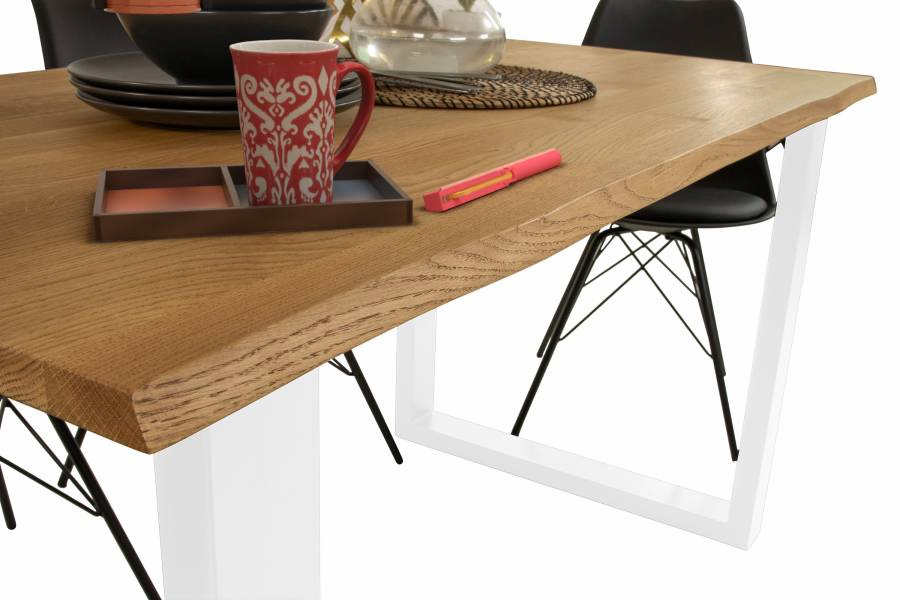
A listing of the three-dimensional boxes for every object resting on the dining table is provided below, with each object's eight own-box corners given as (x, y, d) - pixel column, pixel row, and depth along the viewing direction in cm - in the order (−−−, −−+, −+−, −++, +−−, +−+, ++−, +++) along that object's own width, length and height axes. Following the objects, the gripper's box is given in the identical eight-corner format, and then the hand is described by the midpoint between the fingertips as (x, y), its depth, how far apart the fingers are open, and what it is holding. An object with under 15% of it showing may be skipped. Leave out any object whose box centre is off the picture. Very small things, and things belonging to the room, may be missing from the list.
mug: (257, 222, 82) (250, 52, 77) (223, 197, 89) (214, 40, 85) (396, 206, 88) (397, 47, 83) (353, 183, 95) (352, 37, 91)
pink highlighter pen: (410, 219, 89) (453, 211, 87) (404, 196, 89) (447, 187, 86) (535, 172, 109) (574, 164, 106) (531, 152, 108) (569, 144, 105)
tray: (95, 247, 77) (92, 215, 76) (101, 196, 91) (99, 169, 90) (412, 229, 84) (413, 199, 83) (372, 184, 98) (372, 159, 97)
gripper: (256, -300, 79) (267, 3, 87) (-28, -332, 71) (12, 4, 79) (281, -319, 72) (290, 10, 80) (-29, -357, 65) (15, 12, 73)
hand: (152, 7), depth 80 cm, fingers closed on terracotta cup, 7 cm apart
